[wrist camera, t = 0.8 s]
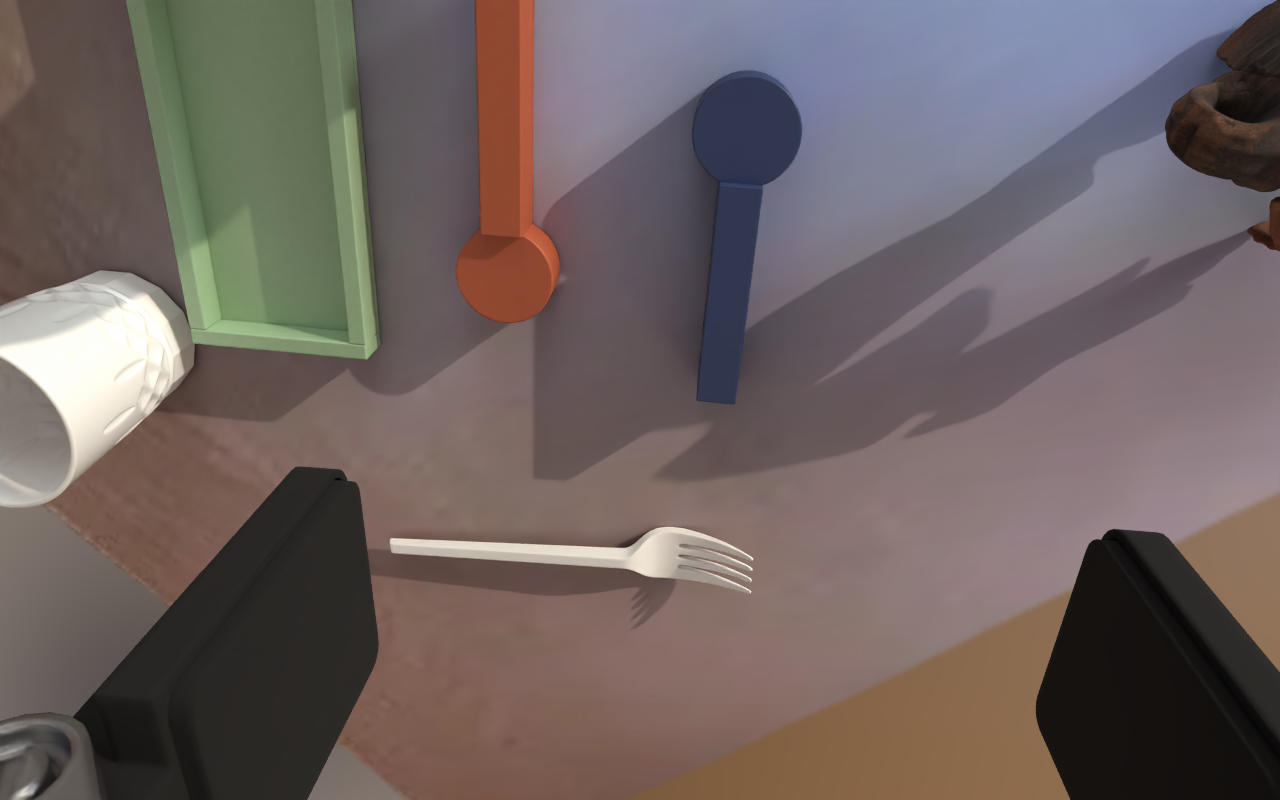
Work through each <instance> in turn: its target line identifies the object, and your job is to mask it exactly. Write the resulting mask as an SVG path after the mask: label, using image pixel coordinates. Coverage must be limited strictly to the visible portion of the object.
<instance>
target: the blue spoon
mask: <svg viewBox="0 0 1280 800" xmlns="http://www.w3.org/2000/svg"><path fill="white" fill-rule="evenodd" d="M801 136H802V122H801V117H800V113H799V110H798V108H797V105H796V103H795V101H794V100H793V98H792V96H791V95H790V93H789V92H788V90H787V89H786V88H785V87H784V86H783V85H782V84H781V83H780V82H779V81H778V80H776V79H775V78H773V77H772V76H769V75H767V74H765V73H761V72H757V71H739V72H735V73H731V74H729V75H726V76H724V77H722V78H721V79H719V80H718V81H716V82H715V83H714V84H712V85H711V87H710V88H709V89H708V90H707V91H706V92H705V93H704V95H703V96H702V98H701V100H700V102H699V104H698V106H697V109H696V112H695V116H694V122H693V129H692V139H693V146H694V150H695V153H696V156H697V158H698V160H699V162H700V164H701V165H702V167H703V168H704V169H705V170H706V172H707V173H708V174H709V175H711V176H712V177H713V178H714V179H716V180H717V181H718V189H717V198H716V208H715V217H714V227H713V236H712V246H711V255H710V265H709V274H708V284H707V293H706V303H705V313H704V322H703V332H702V341H701V351H700V360H699V370H698V381H697V399H696V400H697V401H704V402H714V403H725V404H735V402H736V394H737V386H738V378H739V371H740V363H741V355H742V348H743V340H744V332H745V324H746V317H747V309H748V301H749V293H750V286H751V278H752V270H753V263H754V255H755V247H756V239H757V232H758V224H759V216H760V209H761V201H762V193H763V187H762V185H764V184H767V183H769V182H771V181H773V180H775V179H776V178H777V177H779V176H780V175H781V174H782V173H783V172H784V171H785V170H786V169H787V168H788V167H789V166H790V164H791V163H792V161H793V160H794V158H795V156H796V154H797V152H798V149H799V146H800V142H801Z"/></svg>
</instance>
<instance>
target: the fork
mask: <svg viewBox="0 0 1280 800" xmlns="http://www.w3.org/2000/svg"><path fill="white" fill-rule="evenodd" d="M683 544H688V545H683ZM689 545H695V546H701V547H706V548H711V549H716V550H719V551H723V552H726V553H730V554H733V555H736V556H739V557H742V558H744V559H747V560H750V561H752V560H753V558H752V557H751V556H749V555H748V554H746V553H744V552H742V551H741V550H739V549H737V548H735V547H733V546H731V545H729V544H727V543H725V542H723V541H721V540H718V539H716V538H713V537H711V536H708V535H705V534H702V533H698V532H695V531H692V530H688V529H683V528H677V527H660V528H656V529H654V530H651V531H649V532H648V533H646V534H645V535H644V536H642V537H641V538H640V539H639V540H638V541H637V542H636V543H634V544H633V545H632V546H630V547H627V548H607V547H583V546H560V545H537V544H514V543H490V542H467V541H444V540H421V539H397V538H390V549H391V552H392V553H398V554H413V555H428V556H443V557H458V558H473V559H488V560H503V561H518V562H533V563H548V564H563V565H578V566H593V567H608V568H623V569H629V570H632V571H635V572H637V573H640V574H642V575H644V576H648V577H658V578H675V579H685V580H692V581H699V582H704V583H710V584H714V585H718V586H722V587H727V588H730V589H734V590H738V591H741V592H745V593H748V594H750V593H751V591H750V590H749V589H747V588H745V587H743V586H741V585H739V584H737V583H735V582H732V581H730V580H728V579H725V578H723V577H720V576H717V575H715V574H712V573H709V572H705V571H702V570H699V569H696V568H692V567H698V568H703V569H708V570H713V571H717V572H720V573H724V574H727V575H730V576H733V577H736V578H739V579H742V580H745V581H748V582H751V581H752V580H751V578H749V577H748V576H746V575H744V574H741V573H739V572H737V571H735V570H733V569H730V568H728V567H725V566H723V565H720V564H717V563H714V562H710V561H707V560H703V559H699V558H695V557H690V556H696V557H701V558H707V559H712V560H716V561H720V562H723V563H727V564H730V565H733V566H736V567H739V568H742V569H745V570H748V571H752V568H751V567H750V566H748V565H746V564H744V563H742V562H740V561H737V560H735V559H733V558H730V557H728V556H725V555H722V554H719V553H716V552H713V551H710V550H706V549H702V548H698V547H694V546H689ZM681 554H683V555H681ZM685 555H690V556H685ZM683 565H686V566H683ZM688 566H692V567H688Z"/></svg>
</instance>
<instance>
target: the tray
mask: <svg viewBox="0 0 1280 800" xmlns="http://www.w3.org/2000/svg"><path fill="white" fill-rule="evenodd" d="M126 4H127V9H128V14H129V19H130V24H131V29H132V35H133V40H134V45H135V50H136V55H137V60H138V65H139V70H140V75H141V81H142V86H143V91H144V96H145V101H146V106H147V111H148V116H149V121H150V126H151V132H152V137H153V142H154V147H155V152H156V157H157V162H158V167H159V172H160V178H161V183H162V188H163V193H164V198H165V203H166V208H167V213H168V218H169V223H170V229H171V234H172V239H173V244H174V249H175V254H176V259H177V264H178V269H179V275H180V280H181V285H182V290H183V295H184V300H185V305H186V310H187V315H188V320H189V326H190V328H191V335H192V340H193V343H194V344H204V345H215V346H225V347H236V348H247V349H257V350H268V351H279V352H289V353H300V354H310V355H321V356H332V357H342V358H353V359H363V360H366V359H368V358H369V357H370V356H371V355H372V353H373V352H374V351H375V350H376V349H377V348H378V347H379V346H380V345H381V340H380V329H379V317H378V305H377V293H376V281H375V270H374V258H373V246H372V234H371V222H370V211H369V199H368V187H367V175H366V163H365V152H364V140H363V128H362V116H361V104H360V93H359V81H358V69H357V57H356V45H355V34H354V22H353V10H352V0H126Z"/></svg>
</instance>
